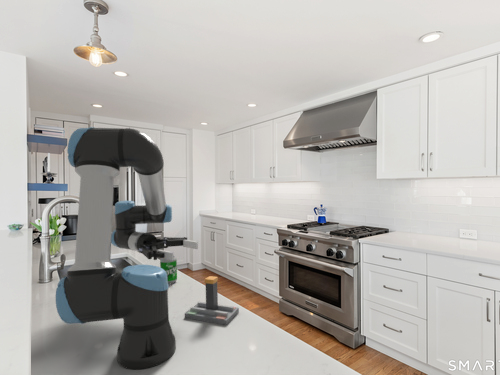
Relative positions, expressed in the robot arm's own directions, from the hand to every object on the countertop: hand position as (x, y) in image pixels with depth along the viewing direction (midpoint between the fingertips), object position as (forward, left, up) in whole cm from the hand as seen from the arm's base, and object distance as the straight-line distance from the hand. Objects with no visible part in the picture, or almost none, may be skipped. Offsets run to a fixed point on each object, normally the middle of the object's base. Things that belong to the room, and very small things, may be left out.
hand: (185, 250), depth 105 cm
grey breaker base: (0, -10, -22) cm, 24 cm away
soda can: (+24, +26, -22) cm, 42 cm away
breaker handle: (0, -10, -20) cm, 23 cm away
